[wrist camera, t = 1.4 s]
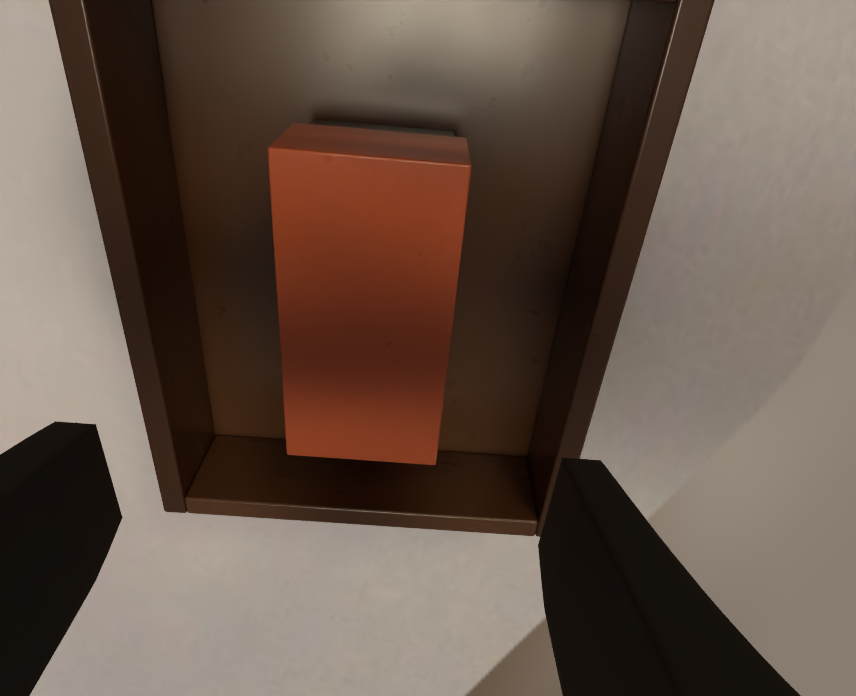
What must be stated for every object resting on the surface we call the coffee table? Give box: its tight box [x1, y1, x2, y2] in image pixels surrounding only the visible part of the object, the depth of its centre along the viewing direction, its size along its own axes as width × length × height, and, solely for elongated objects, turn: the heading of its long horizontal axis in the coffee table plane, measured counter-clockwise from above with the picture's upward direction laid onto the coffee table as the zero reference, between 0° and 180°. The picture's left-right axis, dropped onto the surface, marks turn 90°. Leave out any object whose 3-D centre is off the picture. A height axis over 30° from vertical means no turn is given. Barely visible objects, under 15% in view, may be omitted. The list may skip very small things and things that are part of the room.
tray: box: [49, 0, 714, 537], centre depth 16 cm, size 12×15×4 cm
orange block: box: [268, 119, 472, 465], centre depth 15 cm, size 8×4×4 cm, turn 175°
